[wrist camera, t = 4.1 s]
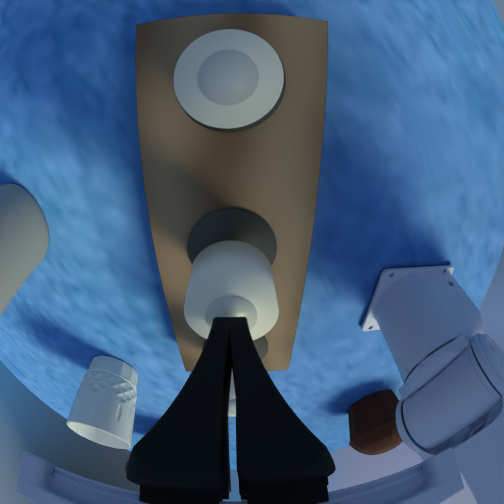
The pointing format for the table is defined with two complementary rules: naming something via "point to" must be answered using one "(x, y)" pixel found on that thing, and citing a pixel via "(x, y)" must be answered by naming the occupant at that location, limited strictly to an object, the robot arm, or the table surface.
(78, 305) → the table surface
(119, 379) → the white cup
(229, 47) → the knob near
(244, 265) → the knob middle
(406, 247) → the table surface
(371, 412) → the muffin
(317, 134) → the knob strip
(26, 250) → the mug
